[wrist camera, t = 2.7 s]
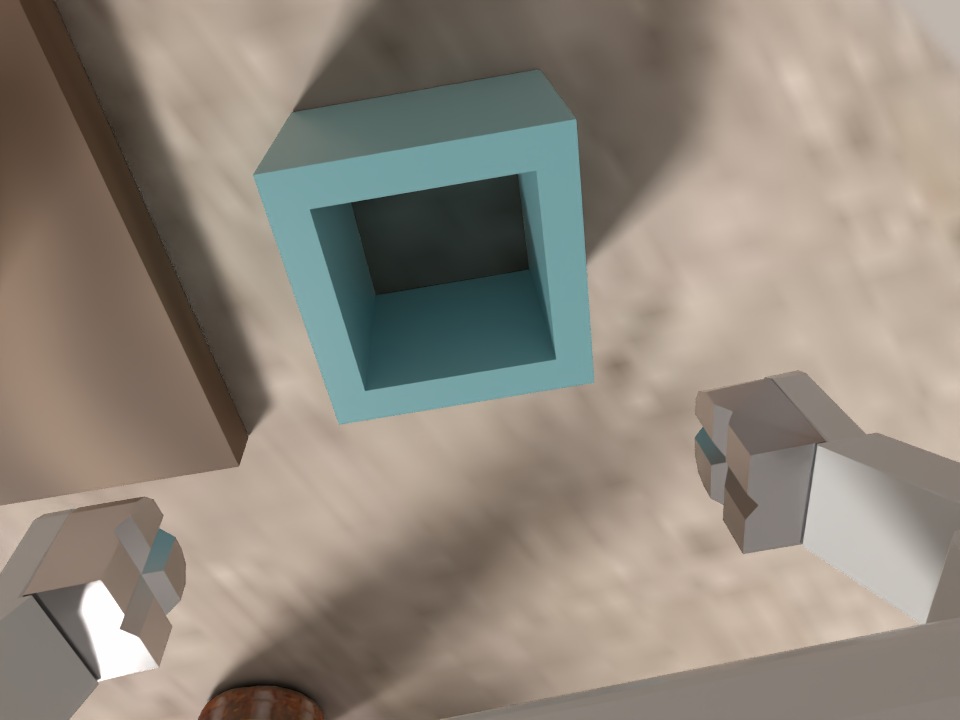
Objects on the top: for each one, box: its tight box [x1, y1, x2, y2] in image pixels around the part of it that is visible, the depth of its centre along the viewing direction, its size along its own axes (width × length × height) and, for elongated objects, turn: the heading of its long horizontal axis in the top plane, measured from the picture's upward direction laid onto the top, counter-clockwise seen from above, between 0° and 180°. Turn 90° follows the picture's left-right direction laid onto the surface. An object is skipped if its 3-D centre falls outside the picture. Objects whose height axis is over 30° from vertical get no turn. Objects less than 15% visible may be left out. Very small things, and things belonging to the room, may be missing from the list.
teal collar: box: [253, 69, 594, 425], centre depth 18 cm, size 7×7×5 cm
